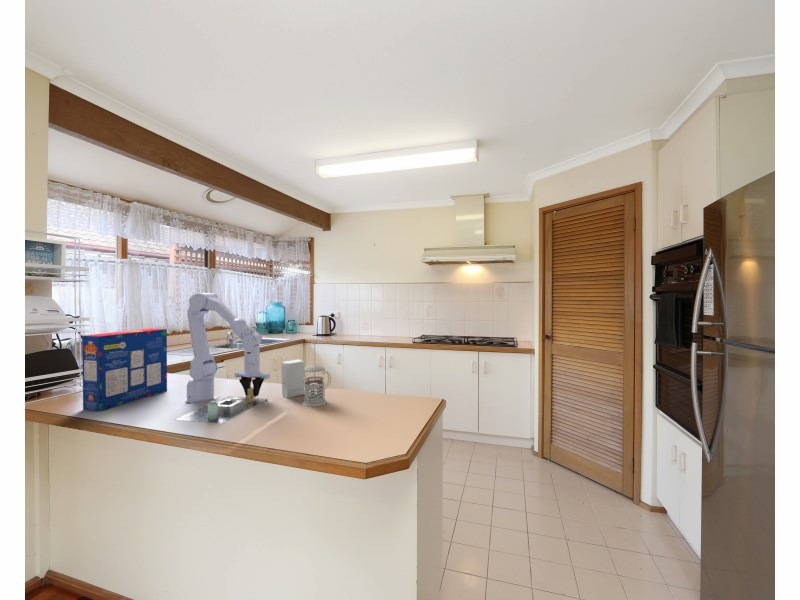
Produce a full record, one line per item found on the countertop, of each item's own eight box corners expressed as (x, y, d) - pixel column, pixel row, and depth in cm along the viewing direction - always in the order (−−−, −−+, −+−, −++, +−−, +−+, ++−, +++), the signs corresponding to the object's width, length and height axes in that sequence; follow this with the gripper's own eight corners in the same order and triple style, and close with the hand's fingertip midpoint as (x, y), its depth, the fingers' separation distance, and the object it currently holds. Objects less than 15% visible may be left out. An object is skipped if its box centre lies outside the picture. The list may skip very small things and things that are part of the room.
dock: (174, 422, 116) (174, 410, 116) (228, 398, 143) (228, 389, 143) (221, 426, 113) (221, 414, 113) (267, 401, 140) (267, 391, 140)
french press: (298, 401, 139) (298, 340, 139) (324, 396, 146) (324, 338, 146) (307, 408, 132) (307, 343, 131) (335, 402, 138) (335, 340, 138)
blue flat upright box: (152, 389, 156) (152, 328, 155) (167, 391, 154) (166, 328, 153) (83, 410, 128) (82, 335, 128) (99, 411, 126) (98, 336, 126)
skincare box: (299, 391, 153) (299, 358, 153) (305, 395, 149) (305, 360, 148) (280, 395, 148) (280, 361, 148) (286, 398, 143) (286, 363, 143)
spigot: (205, 419, 116) (205, 402, 116) (212, 416, 119) (212, 399, 119) (213, 420, 116) (213, 403, 116) (220, 417, 119) (220, 400, 119)
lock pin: (235, 404, 131) (235, 393, 131) (251, 396, 141) (251, 386, 141) (240, 404, 130) (240, 394, 130) (256, 396, 140) (256, 387, 140)
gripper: (229, 363, 136) (229, 397, 137) (262, 365, 134) (262, 399, 134) (240, 360, 143) (240, 392, 144) (272, 361, 141) (272, 394, 141)
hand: (252, 395), depth 139 cm, fingers open, 3 cm apart
